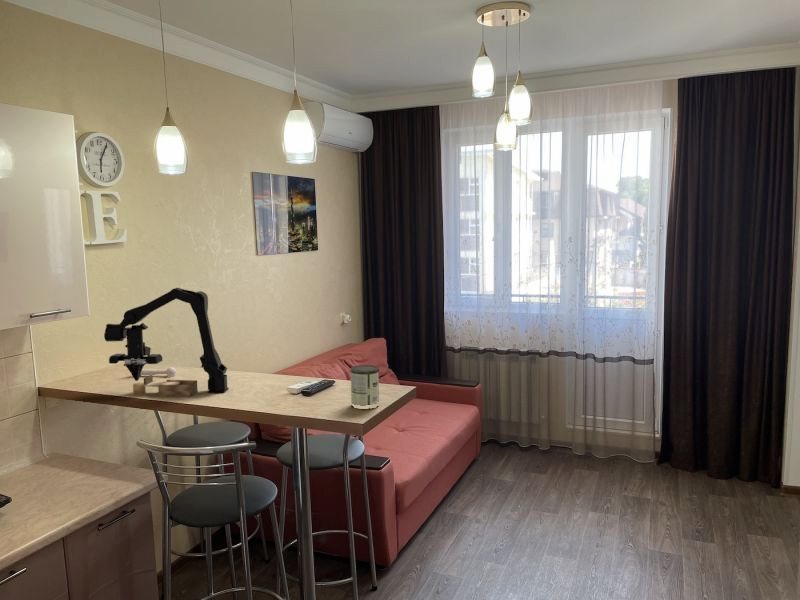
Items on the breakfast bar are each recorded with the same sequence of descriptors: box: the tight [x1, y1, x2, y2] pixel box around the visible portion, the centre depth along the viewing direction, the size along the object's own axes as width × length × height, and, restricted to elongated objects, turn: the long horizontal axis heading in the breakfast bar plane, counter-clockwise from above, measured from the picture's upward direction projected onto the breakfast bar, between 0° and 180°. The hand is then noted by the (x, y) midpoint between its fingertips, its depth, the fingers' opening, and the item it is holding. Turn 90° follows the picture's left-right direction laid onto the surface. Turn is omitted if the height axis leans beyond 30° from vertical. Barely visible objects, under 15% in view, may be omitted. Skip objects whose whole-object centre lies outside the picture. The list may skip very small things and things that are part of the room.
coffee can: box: [350, 364, 380, 406], centre depth 219 cm, size 10×10×14 cm
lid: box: [143, 375, 180, 388], centre depth 234 cm, size 12×6×3 cm, turn 87°
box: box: [158, 379, 198, 398], centre depth 234 cm, size 12×8×4 cm, turn 87°
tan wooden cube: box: [132, 382, 147, 395], centre depth 235 cm, size 4×4×4 cm
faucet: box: [140, 365, 177, 378], centre depth 262 cm, size 4×18×10 cm, turn 90°
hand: (136, 380), depth 235 cm, fingers closed
